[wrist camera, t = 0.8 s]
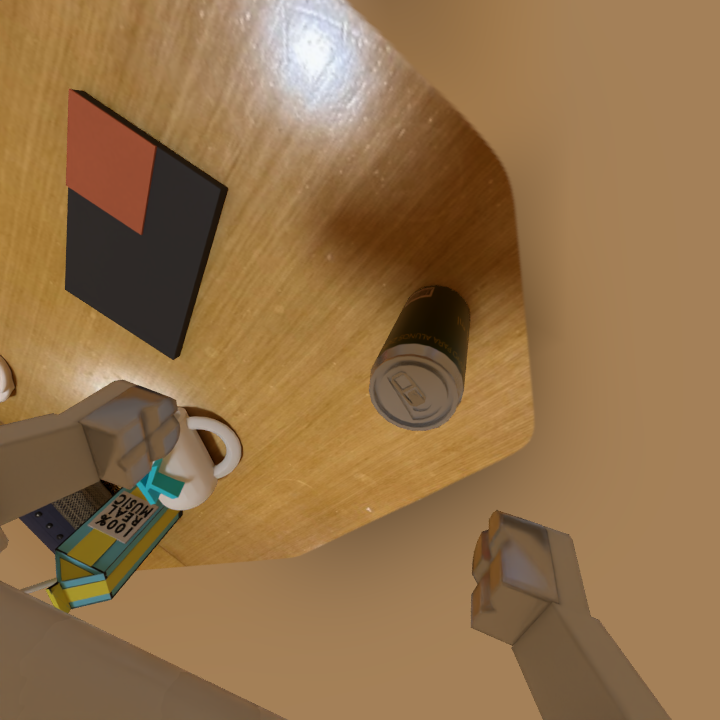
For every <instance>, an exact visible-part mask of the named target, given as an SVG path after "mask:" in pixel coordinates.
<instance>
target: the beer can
mask: <svg viewBox="0 0 720 720" xmlns="http://www.w3.org/2000/svg"><path fill="white" fill-rule="evenodd" d="M469 327H470V312H469V308H468V306H467V304H466V302H465V300H464V299H463V298H462V297H461V296H460V295H459V294H458V293H457V292H456V291H454V290H452V289H450V288H448V287H443V286H437V285H435V286H428V287H424V288H422V289H420V290H418V291H416V292H415V293H414V294H413V295H411V296H410V297H409V298H408V300H407V302H406V304H405V306H404V308H403V310H402V312H401V313H400V315H399V317H398V319H397V321H396V323H395V325H394V327H393V329H392V331H391V332H390V334H389V336H388V338H387V340H386V342H385V344H384V346H383V348H382V350H381V351H380V353H379V355H378V357H377V359H376V361H375V363H374V365H373V367H372V369H371V374H370V386H369V393H370V397H371V401H372V403H373V405H374V407H375V408H376V410H377V411H378V413H379V414H380V415H381V416H383V417H384V418H385V419H386V420H387V421H388V422H390V423H392V424H394V425H396V426H398V427H400V428H404V429H408V430H412V431H426V430H430V429H434V428H438V427H439V426H441V425H442V424H444V423H446V422H447V421H448V420H449V419H450V418H451V416H452V415H453V414H454V413H455V411H456V408H457V406H458V405H459V404H460V402H461V398H462V395H463V391H464V382H465V371H466V360H467V349H468V338H469Z"/></svg>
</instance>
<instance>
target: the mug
mask: <svg viewBox="0 0 720 720" xmlns="http://www.w3.org/2000/svg"><path fill="white" fill-rule="evenodd" d="M177 408H178V411H177V412H176V413H175V414H174V416H175V418H176V419H177V420H178V422H179V423H180V436H179V439H178V441H177V443H176V445H175V447H174V448H173V450H172V451H171V452H170V453H169V454H168V455H167V456H166V457H164V458H162V459H159V460H156V461H153V464H152V469H151V471H150V472H149V473H148V474H147V475H146V476H145V477H143V478H142V479H141V480H140V481H139V482H138V483H137V484H136V485H137V486H138V488H139V489H140V491H141V492H142V493H143V495H144V496H145V498H146V499H147V501H148V502H149V504H150V505H152V504H156V502H157V500H158V498H159V500H160V501H161V503H162V504H163V505H165V506H166V507H168V508H170V509H173V510H188V509H191V508H194V507H196V506H198V505H200V504H202V503H203V502H204V501H206V500H207V499H208V498H209V496H210V495H211V494H212V493H213V491H214V489H215V487H216V485H217V481H218V479H219V478H221V477H224V476H226V475H227V474H229V473H230V472H232V471H233V470H234V468H235V467H236V466H237V465H238V463H239V461H240V458H241V445H240V441H239V439H238V437H237V436H236V434H235V433H234V431H232V430H231V429H230V428H229V427H228V426H227V425H225V424H223V423H221V422H220V421H218V420H215V419H212V418H208V417H199V416H193V417H189V415H188V414H187V412H186V410H185V409H184V408H182V407H177ZM196 429H202V430H207V431H211V432H213V433H215V434H216V435H218V436H219V437H220V438H221V439H222V440H223V441H224V443H225V445H226V448H227V453H226V456H225V458H224V460H223V461H222V462H221V463H219V464H218V465H216V466H215V464H214V462H213V461H212V459H211V457H210V455H209V453H208V451H207V449H206V447H205V446H204V444H203V442H202V440H201V438H200V436H199V434H198V432H197V430H196Z"/></svg>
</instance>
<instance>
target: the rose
mask: <svg viewBox="0 0 720 720" xmlns="http://www.w3.org/2000/svg"><path fill="white" fill-rule="evenodd" d="M14 388H15V386H14V383H13V380H12V373H11V370H10V368H9V366H8V365H7V363H6V362H5V360H4V359H3V358H2V357H1V356H0V402H3V401H5V400H7V399H8V398H9V396H10V395H11V392H12V391H13V390H14Z"/></svg>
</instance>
